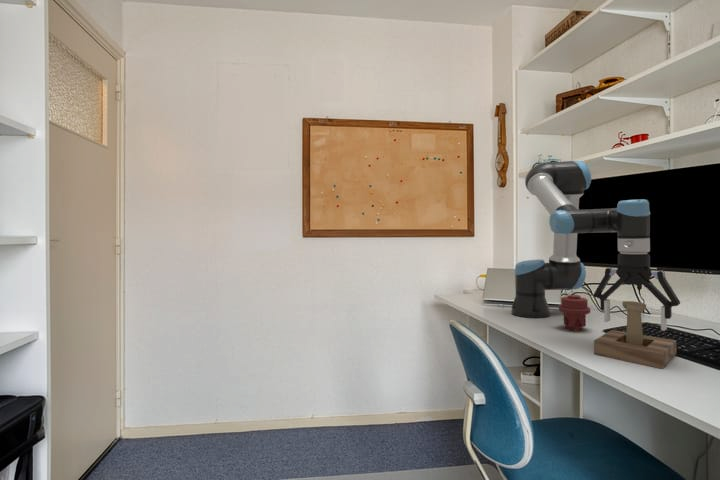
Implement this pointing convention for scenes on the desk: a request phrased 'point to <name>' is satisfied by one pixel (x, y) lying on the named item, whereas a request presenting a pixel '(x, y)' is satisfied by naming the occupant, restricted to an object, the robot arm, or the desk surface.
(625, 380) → the desk surface
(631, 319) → the handle
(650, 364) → the socket block
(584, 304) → the mechanical component
